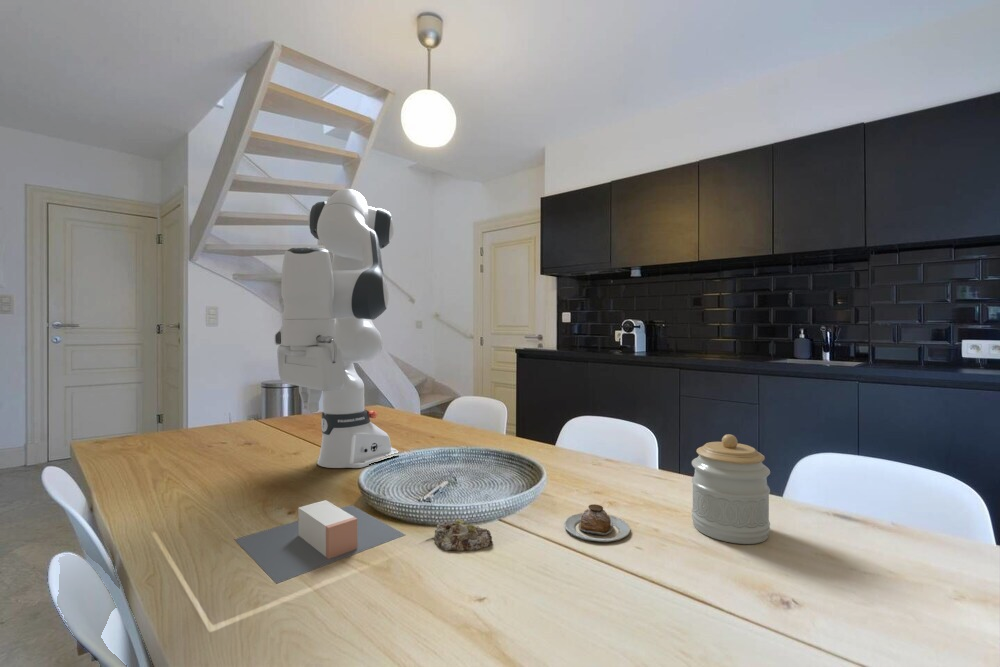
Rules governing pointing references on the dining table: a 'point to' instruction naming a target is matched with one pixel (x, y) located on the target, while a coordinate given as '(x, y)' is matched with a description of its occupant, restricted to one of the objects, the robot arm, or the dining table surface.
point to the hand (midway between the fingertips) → (310, 411)
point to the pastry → (596, 524)
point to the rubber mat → (308, 546)
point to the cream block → (328, 528)
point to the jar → (731, 492)
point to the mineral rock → (461, 536)
